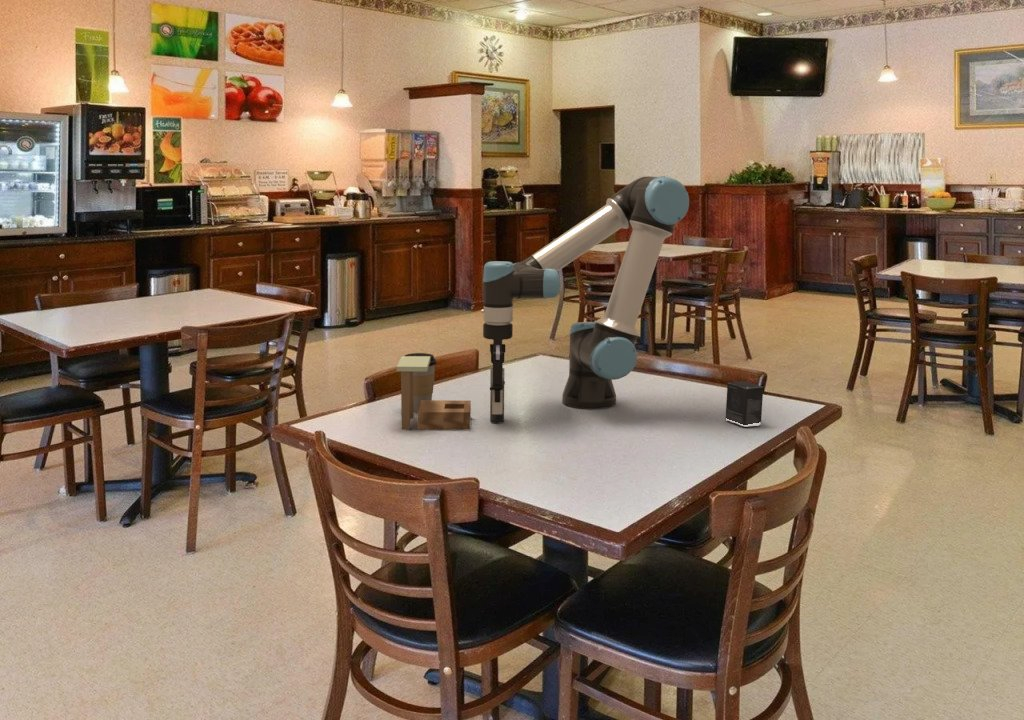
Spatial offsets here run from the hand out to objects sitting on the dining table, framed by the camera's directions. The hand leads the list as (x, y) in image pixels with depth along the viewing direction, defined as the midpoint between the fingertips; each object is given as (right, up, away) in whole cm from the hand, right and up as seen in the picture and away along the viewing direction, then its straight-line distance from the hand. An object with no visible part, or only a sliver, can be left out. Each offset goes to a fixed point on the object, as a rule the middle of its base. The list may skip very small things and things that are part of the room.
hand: (497, 411), depth 243 cm
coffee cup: (-21, 0, +11) cm, 24 cm away
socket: (-14, -3, -2) cm, 14 cm away
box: (+64, -3, +1) cm, 64 cm away
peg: (0, -3, +1) cm, 3 cm away
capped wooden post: (-21, -3, -2) cm, 22 cm away
